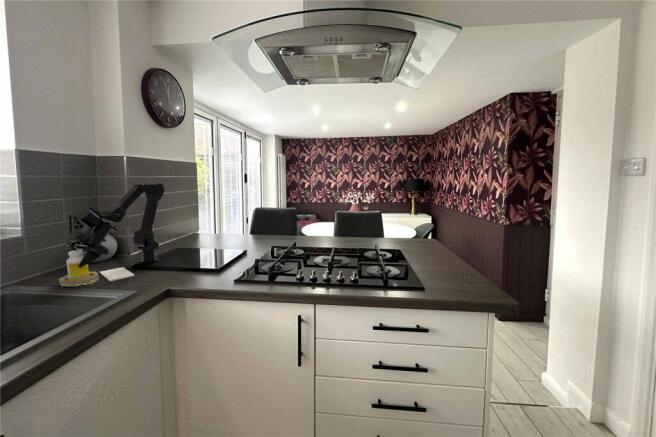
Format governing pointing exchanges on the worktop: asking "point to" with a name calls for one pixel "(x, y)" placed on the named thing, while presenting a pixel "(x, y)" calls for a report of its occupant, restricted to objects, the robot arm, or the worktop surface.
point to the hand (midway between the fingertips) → (73, 266)
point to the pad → (116, 274)
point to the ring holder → (92, 278)
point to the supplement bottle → (76, 266)
